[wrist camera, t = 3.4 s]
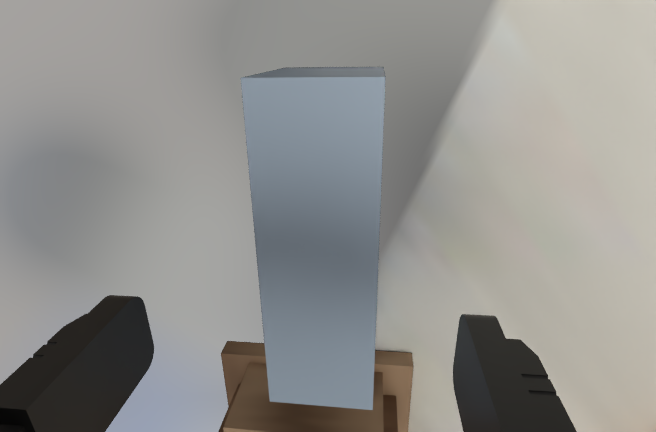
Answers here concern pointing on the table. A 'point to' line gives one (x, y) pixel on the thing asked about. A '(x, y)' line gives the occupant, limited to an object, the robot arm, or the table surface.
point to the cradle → (311, 420)
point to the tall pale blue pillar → (317, 227)
